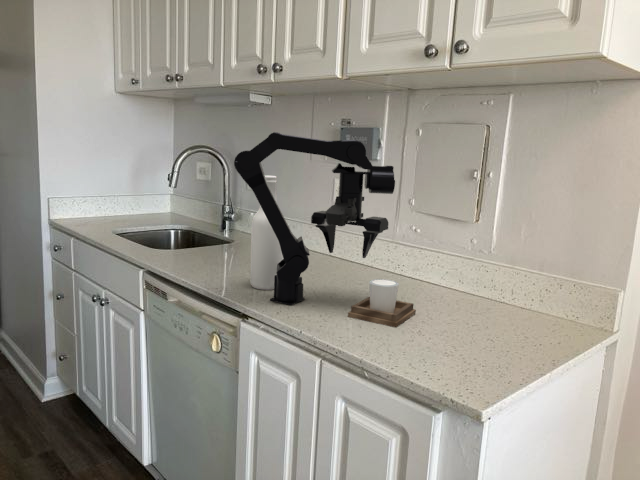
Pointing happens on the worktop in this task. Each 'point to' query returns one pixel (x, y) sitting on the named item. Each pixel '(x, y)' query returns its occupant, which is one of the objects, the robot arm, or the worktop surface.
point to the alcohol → (264, 247)
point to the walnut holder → (382, 313)
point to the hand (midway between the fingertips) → (347, 255)
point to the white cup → (383, 294)
